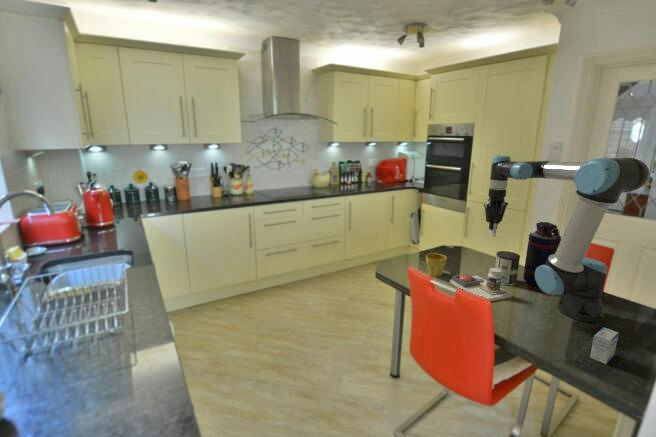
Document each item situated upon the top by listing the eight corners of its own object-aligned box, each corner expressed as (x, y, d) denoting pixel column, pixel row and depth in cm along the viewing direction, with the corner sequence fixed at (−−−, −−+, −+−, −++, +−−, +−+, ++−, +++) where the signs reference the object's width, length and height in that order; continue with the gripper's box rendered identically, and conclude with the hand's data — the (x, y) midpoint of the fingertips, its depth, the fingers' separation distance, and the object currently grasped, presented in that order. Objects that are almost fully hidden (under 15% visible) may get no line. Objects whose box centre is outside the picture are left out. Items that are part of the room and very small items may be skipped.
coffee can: (512, 277, 173) (516, 251, 170) (519, 286, 163) (523, 258, 160) (490, 276, 175) (494, 250, 172) (496, 284, 165) (499, 257, 162)
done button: (475, 283, 162) (475, 278, 162) (464, 285, 160) (465, 280, 160) (466, 278, 168) (467, 273, 167) (456, 280, 166) (456, 275, 165)
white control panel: (511, 297, 152) (512, 290, 151) (482, 302, 147) (483, 295, 146) (476, 278, 172) (477, 271, 172) (449, 282, 168) (450, 275, 167)
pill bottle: (483, 288, 157) (485, 268, 154) (491, 286, 159) (493, 266, 157) (494, 293, 152) (496, 273, 149) (502, 291, 155) (505, 270, 152)
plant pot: (425, 277, 173) (426, 259, 171) (423, 269, 183) (425, 252, 181) (446, 279, 172) (448, 260, 169) (443, 271, 182) (445, 253, 179)
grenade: (532, 287, 162) (541, 227, 155) (517, 277, 174) (525, 220, 166) (560, 287, 162) (571, 226, 155) (544, 276, 174) (553, 220, 167)
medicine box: (606, 365, 108) (611, 341, 106) (589, 357, 111) (594, 334, 109) (614, 355, 112) (619, 332, 110) (597, 349, 116) (602, 326, 114)
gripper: (502, 186, 167) (496, 232, 173) (481, 188, 163) (475, 235, 169) (514, 189, 160) (508, 236, 166) (492, 190, 156) (487, 239, 162)
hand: (492, 235), depth 168 cm, fingers closed
